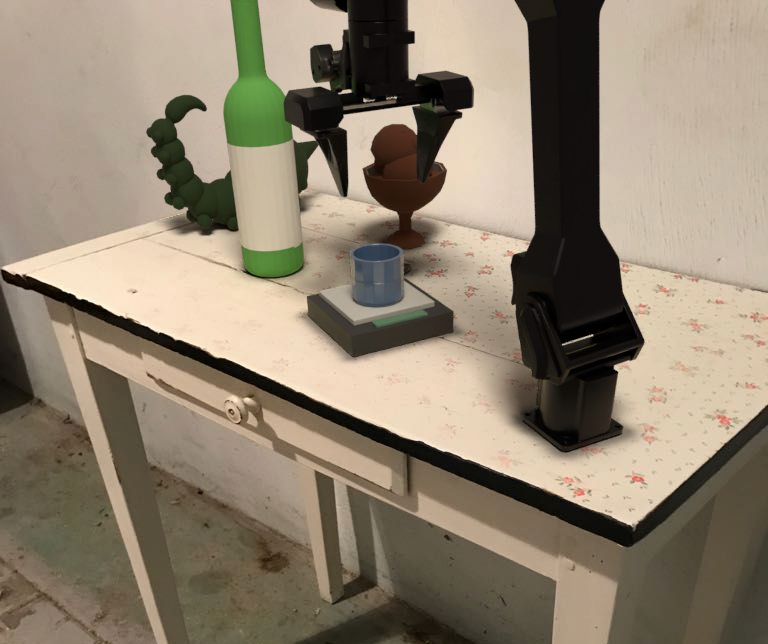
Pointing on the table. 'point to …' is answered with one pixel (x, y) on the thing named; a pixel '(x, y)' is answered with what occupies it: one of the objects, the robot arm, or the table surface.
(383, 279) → the small cup
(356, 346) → the kitchen scale
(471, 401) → the table surface
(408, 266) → the red black picture tile
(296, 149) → the toy figurine
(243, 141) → the wine bottle
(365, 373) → the table surface
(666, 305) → the table surface
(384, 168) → the ice cream bowl
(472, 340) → the table surface
